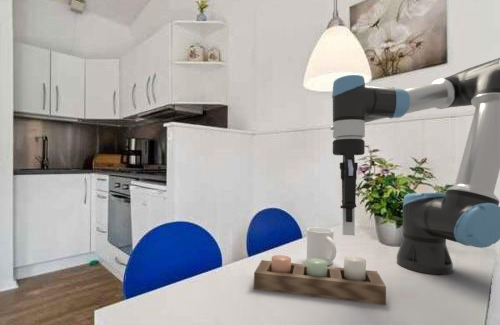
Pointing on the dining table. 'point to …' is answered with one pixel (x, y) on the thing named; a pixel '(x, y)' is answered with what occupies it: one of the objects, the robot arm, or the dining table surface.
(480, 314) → the dining table surface
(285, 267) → the peach rounded piece
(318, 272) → the pale green rounded piece
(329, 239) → the mug
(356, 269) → the white short cylinder
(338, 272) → the wooden compartment tray
